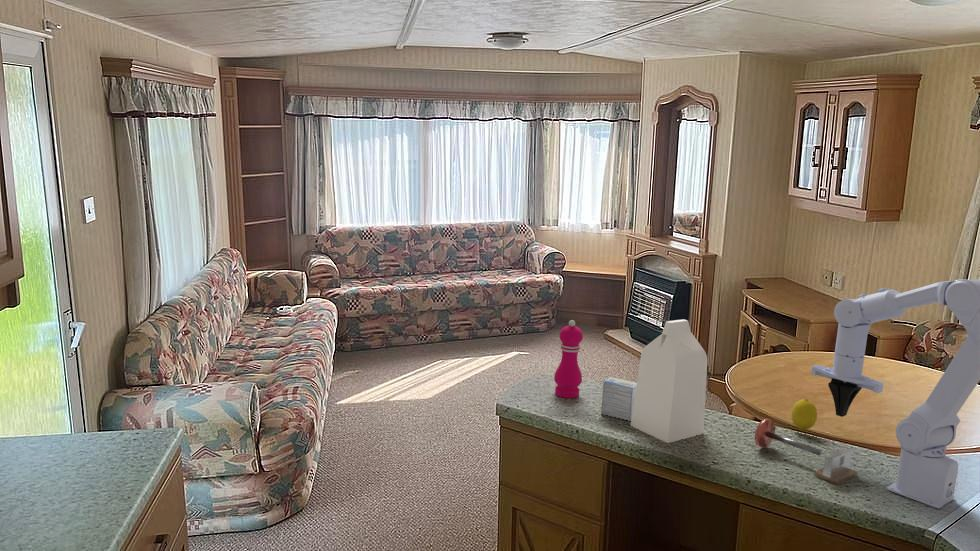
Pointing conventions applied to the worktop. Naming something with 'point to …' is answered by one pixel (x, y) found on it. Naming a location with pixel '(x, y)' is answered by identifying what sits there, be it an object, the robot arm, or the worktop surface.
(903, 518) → the worktop surface
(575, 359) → the pepper mill
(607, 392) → the grey rectangular block
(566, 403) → the worktop surface
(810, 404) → the lemon
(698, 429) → the milk
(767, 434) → the red wheel with axle
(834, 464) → the eye bracket
